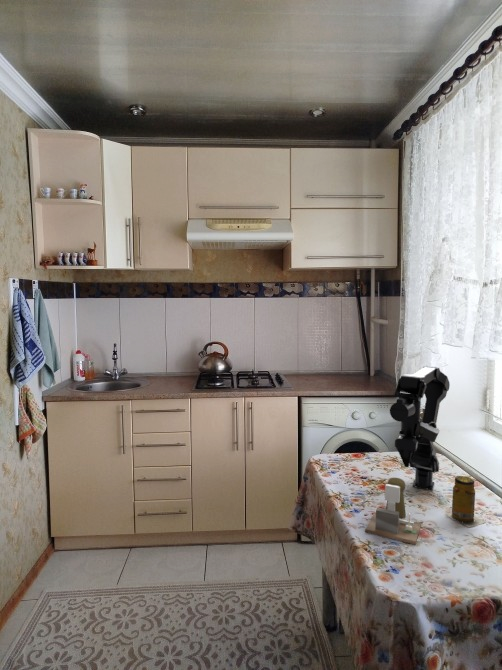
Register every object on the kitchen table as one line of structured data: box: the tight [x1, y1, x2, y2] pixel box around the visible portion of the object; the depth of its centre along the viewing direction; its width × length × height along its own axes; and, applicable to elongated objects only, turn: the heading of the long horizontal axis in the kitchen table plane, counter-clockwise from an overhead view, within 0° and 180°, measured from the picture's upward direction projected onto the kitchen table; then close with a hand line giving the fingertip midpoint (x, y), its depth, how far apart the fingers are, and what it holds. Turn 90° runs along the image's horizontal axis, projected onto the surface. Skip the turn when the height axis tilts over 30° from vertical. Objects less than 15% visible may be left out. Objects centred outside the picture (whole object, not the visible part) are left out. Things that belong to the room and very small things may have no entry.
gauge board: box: [364, 506, 422, 545], centre depth 129 cm, size 11×14×6 cm
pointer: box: [406, 513, 412, 531], centre depth 126 cm, size 1×2×5 cm, turn 62°
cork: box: [385, 477, 407, 519], centre depth 137 cm, size 6×6×11 cm
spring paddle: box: [384, 483, 415, 526], centre depth 131 cm, size 2×8×10 cm, turn 62°
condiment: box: [444, 475, 486, 528], centre depth 134 cm, size 7×8×12 cm
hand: (409, 462), depth 145 cm, fingers open, 9 cm apart
